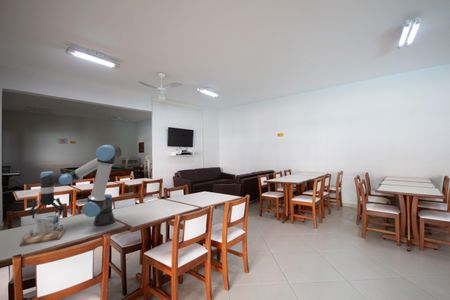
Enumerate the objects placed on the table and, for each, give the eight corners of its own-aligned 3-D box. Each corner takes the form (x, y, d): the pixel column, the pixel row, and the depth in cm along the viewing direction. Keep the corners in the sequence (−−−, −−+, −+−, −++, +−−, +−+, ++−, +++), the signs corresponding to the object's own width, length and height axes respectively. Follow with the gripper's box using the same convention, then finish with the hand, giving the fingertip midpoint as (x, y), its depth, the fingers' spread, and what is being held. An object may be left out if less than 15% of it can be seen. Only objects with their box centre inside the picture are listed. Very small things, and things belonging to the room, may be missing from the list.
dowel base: (64, 231, 152) (64, 224, 152) (59, 239, 138) (59, 231, 138) (28, 237, 142) (28, 229, 142) (19, 246, 129) (19, 237, 129)
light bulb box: (59, 228, 157) (59, 214, 157) (53, 232, 150) (53, 217, 150) (43, 230, 155) (43, 215, 155) (36, 233, 148) (36, 218, 148)
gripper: (69, 190, 162) (69, 216, 162) (26, 193, 150) (27, 222, 150) (67, 191, 155) (67, 219, 155) (22, 195, 143) (23, 225, 143)
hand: (47, 221), depth 153 cm, fingers open, 13 cm apart
